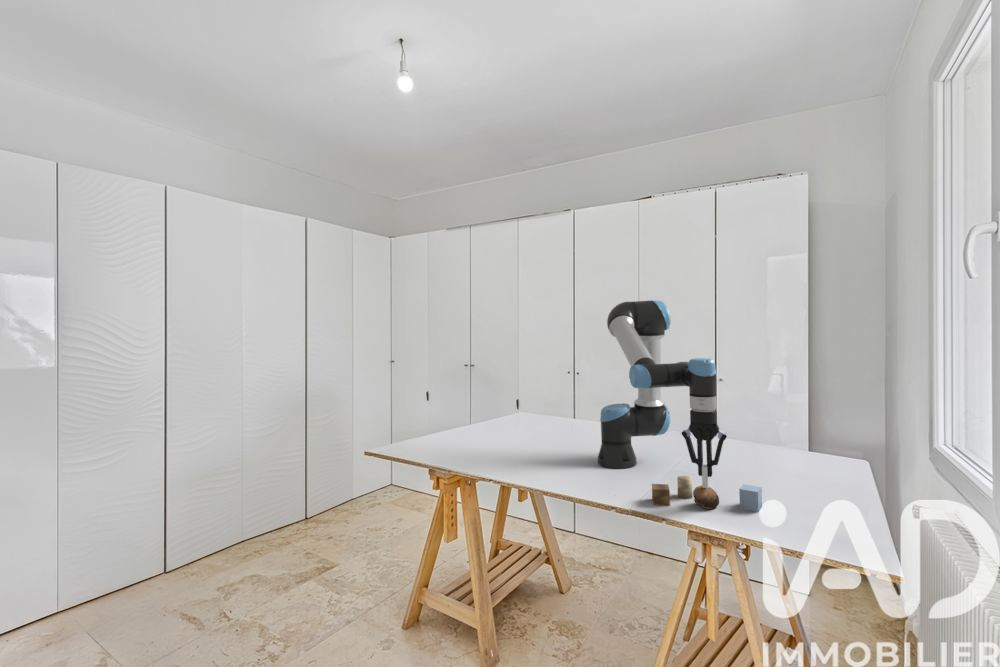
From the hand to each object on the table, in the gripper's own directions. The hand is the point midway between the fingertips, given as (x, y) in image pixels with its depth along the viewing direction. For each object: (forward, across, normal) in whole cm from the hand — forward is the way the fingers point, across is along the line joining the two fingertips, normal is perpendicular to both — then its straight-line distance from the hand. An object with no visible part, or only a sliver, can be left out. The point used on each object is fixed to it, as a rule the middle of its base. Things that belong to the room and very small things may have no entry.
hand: (705, 486), depth 147 cm
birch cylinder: (+6, -7, +6) cm, 11 cm away
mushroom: (+6, 0, 0) cm, 6 cm away
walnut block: (+6, -13, -2) cm, 15 cm away
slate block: (+6, +12, +4) cm, 14 cm away
